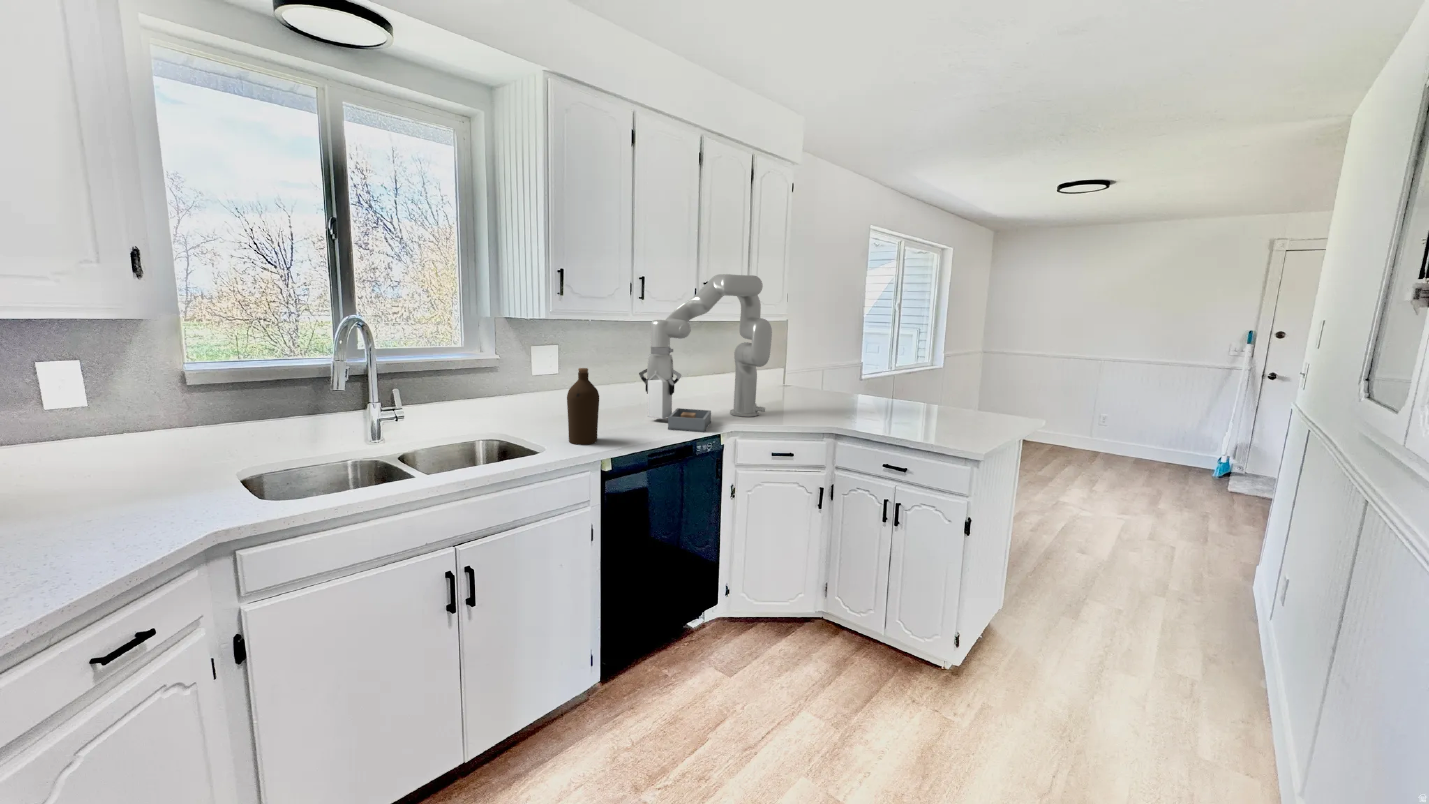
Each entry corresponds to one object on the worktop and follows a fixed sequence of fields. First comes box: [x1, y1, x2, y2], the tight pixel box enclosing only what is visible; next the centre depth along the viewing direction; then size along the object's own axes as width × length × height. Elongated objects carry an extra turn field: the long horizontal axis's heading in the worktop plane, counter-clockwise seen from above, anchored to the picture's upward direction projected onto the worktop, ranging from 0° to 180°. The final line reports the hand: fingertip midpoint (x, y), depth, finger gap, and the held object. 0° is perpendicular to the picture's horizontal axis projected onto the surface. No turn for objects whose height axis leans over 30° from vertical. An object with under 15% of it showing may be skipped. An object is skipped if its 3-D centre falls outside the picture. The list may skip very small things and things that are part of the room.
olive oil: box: [566, 367, 600, 446], centre depth 194 cm, size 11×11×25 cm
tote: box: [667, 407, 712, 433], centre depth 227 cm, size 14×18×5 cm
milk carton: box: [647, 371, 673, 420], centre depth 232 cm, size 7×7×19 cm
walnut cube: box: [681, 412, 696, 418], centre depth 222 cm, size 5×5×5 cm
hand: (659, 393), depth 232 cm, fingers closed on milk carton, 9 cm apart
